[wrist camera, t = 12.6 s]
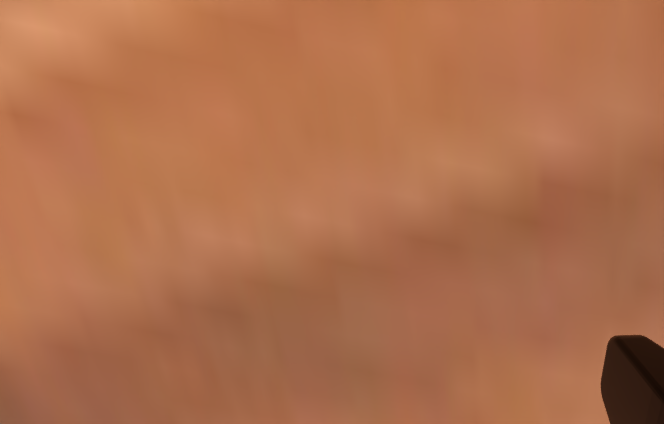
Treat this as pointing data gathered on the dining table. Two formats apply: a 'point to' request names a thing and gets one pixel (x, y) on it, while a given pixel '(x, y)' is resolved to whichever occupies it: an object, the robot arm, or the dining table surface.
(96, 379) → the dining table surface
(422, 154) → the dining table surface
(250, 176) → the dining table surface
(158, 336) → the dining table surface
